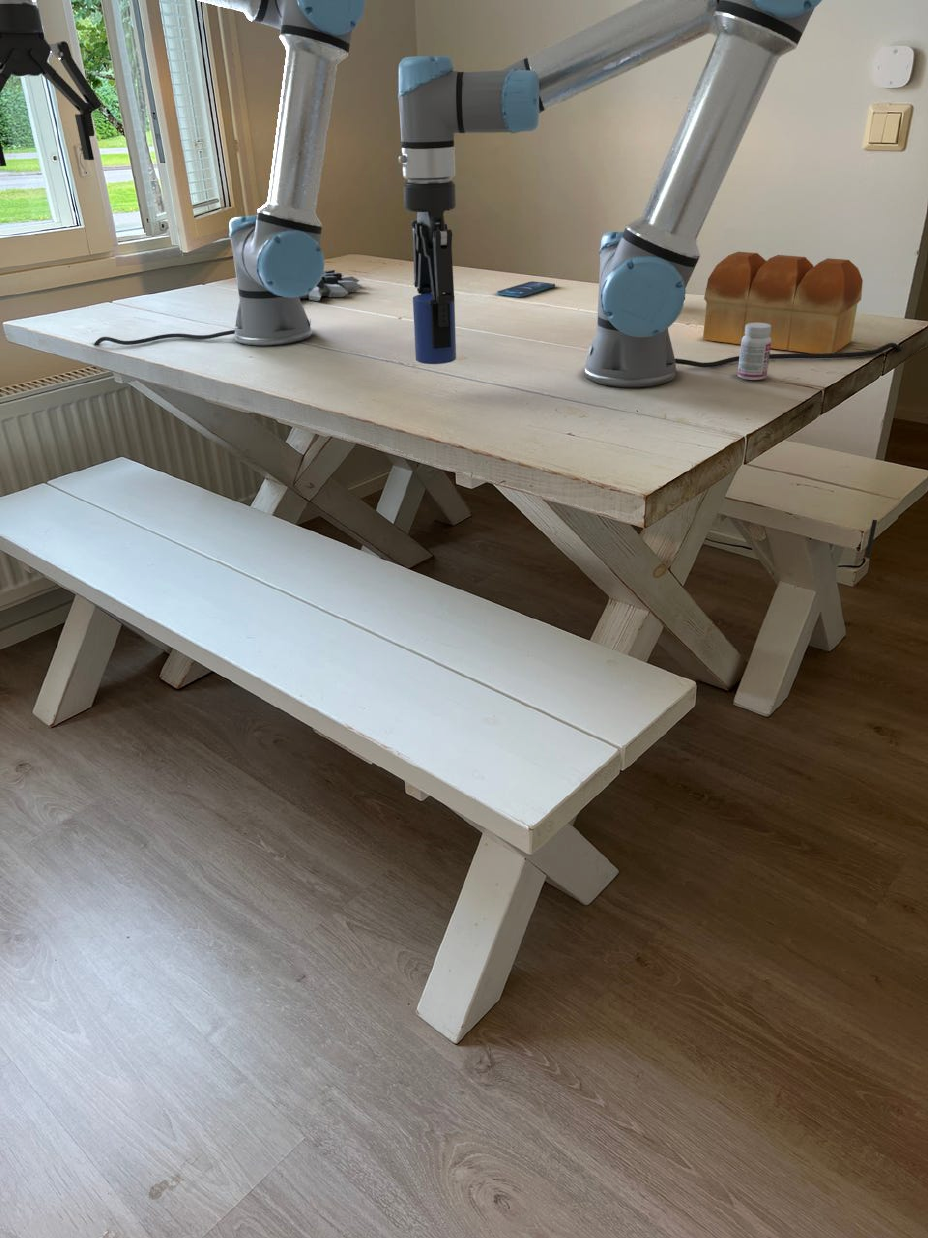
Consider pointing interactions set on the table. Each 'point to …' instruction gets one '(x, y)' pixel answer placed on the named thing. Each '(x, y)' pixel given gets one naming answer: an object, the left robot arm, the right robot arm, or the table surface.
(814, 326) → the bread
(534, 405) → the table surface
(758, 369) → the pill bottle
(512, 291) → the smartphone
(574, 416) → the table surface
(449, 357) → the canister
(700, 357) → the table surface
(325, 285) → the decorative piece
